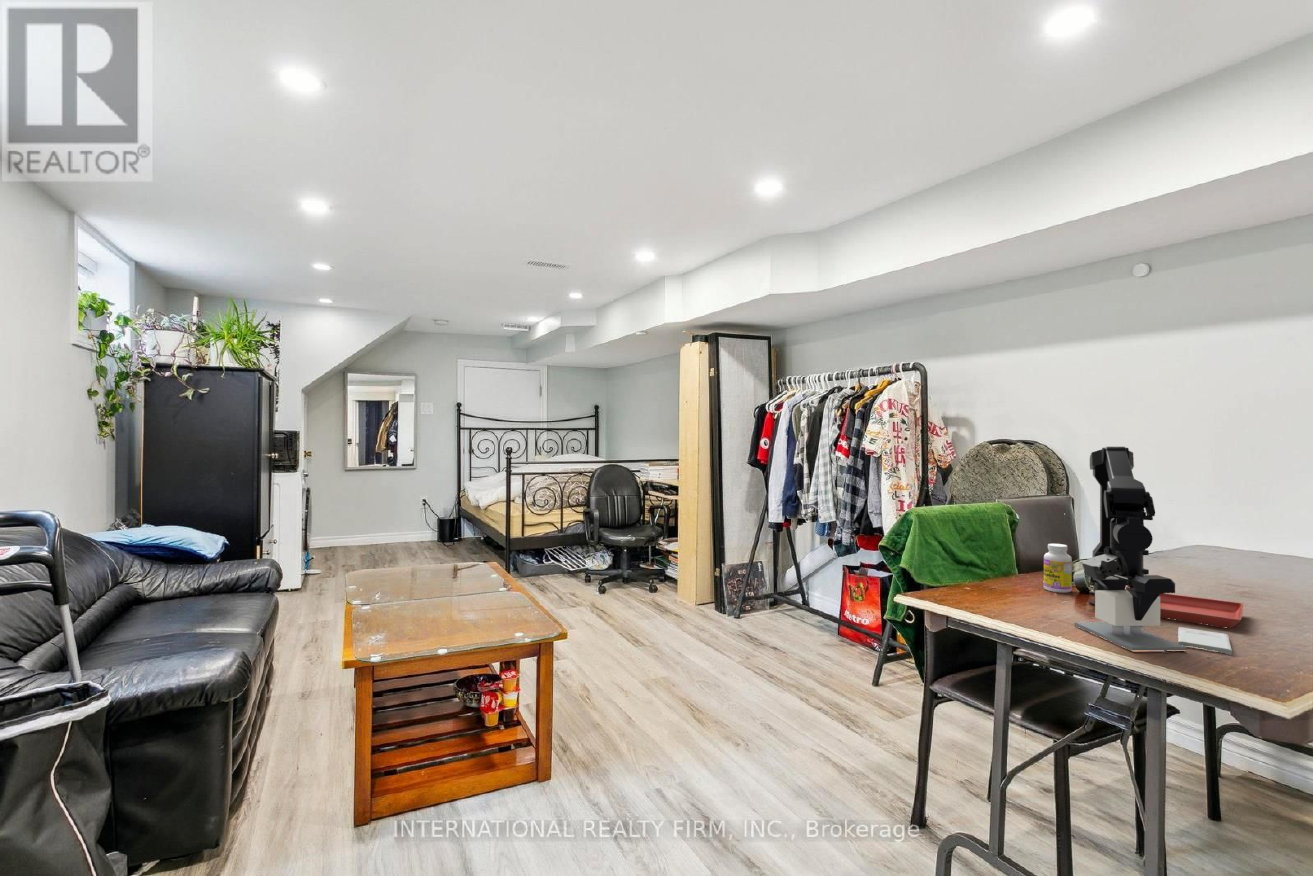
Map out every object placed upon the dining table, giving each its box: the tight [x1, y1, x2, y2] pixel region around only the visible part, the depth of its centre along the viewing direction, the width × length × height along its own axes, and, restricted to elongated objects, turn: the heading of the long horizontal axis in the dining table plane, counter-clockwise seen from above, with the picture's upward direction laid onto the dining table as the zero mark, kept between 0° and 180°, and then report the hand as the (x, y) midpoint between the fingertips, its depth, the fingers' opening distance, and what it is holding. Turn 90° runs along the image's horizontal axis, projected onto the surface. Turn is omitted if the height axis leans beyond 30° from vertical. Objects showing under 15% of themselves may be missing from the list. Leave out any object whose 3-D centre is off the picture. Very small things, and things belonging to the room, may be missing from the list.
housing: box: [1094, 589, 1161, 627], centre depth 133 cm, size 10×6×6 cm, turn 90°
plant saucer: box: [1158, 593, 1244, 629], centre depth 149 cm, size 18×18×3 cm
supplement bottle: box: [1043, 543, 1073, 594], centre depth 174 cm, size 7×7×13 cm
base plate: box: [1074, 621, 1187, 651], centre depth 133 cm, size 17×11×4 cm, turn 0°
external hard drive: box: [1177, 626, 1233, 656], centre depth 130 cm, size 2×8×12 cm
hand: (1126, 616), depth 133 cm, fingers closed on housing, 6 cm apart
